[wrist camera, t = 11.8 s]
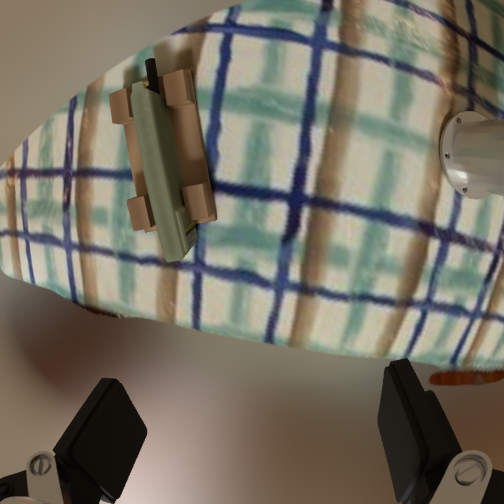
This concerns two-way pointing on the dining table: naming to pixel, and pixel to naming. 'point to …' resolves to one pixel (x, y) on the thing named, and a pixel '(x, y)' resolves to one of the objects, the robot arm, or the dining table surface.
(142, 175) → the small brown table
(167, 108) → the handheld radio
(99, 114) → the dining table surface
